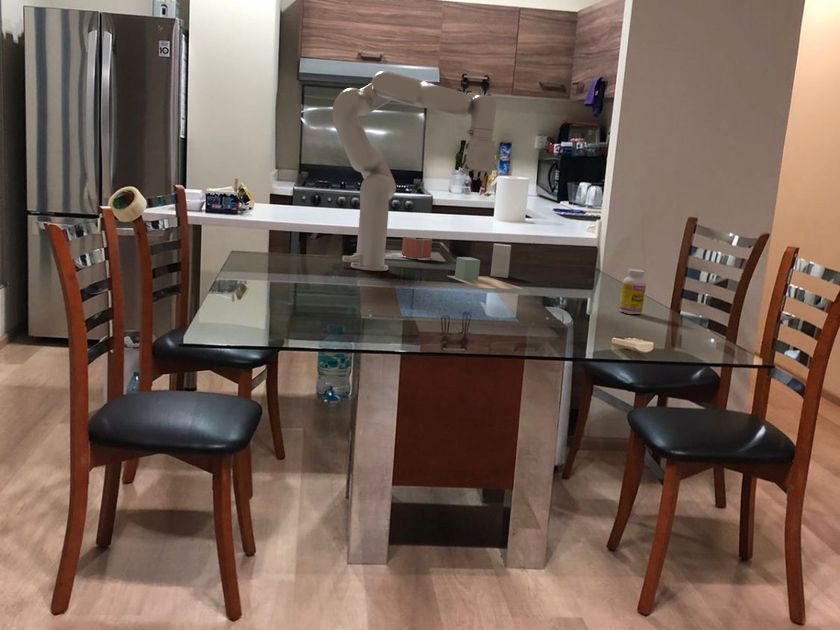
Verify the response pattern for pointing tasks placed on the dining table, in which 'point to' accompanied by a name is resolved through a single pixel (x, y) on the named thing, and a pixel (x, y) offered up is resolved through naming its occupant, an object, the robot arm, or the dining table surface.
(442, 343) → the dining table surface
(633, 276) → the supplement bottle
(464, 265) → the sage green cube
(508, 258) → the skincare box
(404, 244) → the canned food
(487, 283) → the board
